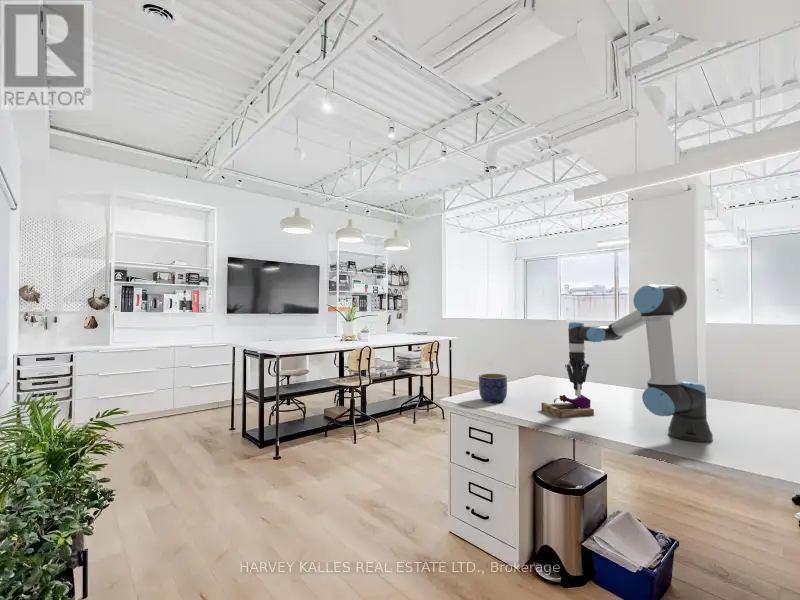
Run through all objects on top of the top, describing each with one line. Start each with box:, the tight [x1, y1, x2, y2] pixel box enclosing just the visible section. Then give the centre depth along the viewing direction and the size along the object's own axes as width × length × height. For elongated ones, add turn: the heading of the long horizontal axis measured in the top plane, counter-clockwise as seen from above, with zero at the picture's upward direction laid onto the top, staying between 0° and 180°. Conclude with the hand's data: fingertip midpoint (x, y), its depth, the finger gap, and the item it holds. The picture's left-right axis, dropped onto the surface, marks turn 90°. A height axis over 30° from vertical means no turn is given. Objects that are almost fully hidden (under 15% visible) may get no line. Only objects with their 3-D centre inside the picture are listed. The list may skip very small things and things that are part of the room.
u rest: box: [541, 402, 595, 419], centre depth 206 cm, size 15×20×4 cm
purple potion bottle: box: [553, 394, 591, 409], centre depth 209 cm, size 8×8×18 cm
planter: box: [478, 373, 508, 404], centre depth 235 cm, size 16×16×15 cm
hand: (577, 395), depth 207 cm, fingers closed
